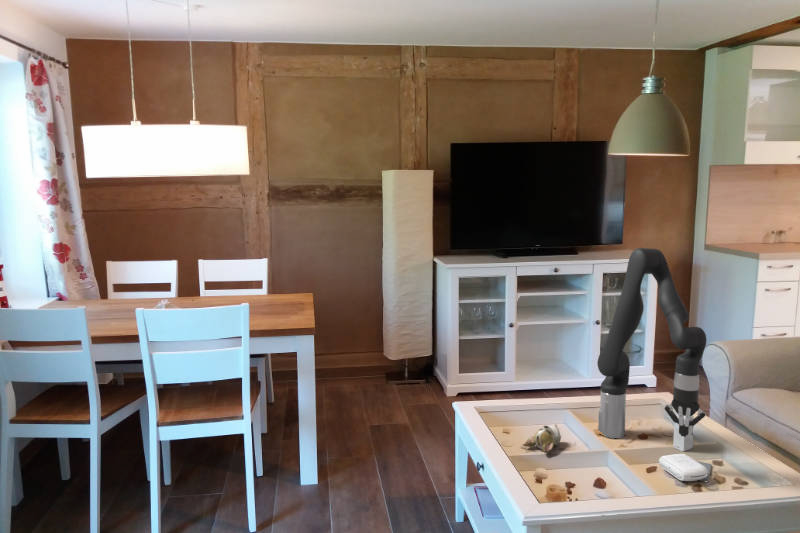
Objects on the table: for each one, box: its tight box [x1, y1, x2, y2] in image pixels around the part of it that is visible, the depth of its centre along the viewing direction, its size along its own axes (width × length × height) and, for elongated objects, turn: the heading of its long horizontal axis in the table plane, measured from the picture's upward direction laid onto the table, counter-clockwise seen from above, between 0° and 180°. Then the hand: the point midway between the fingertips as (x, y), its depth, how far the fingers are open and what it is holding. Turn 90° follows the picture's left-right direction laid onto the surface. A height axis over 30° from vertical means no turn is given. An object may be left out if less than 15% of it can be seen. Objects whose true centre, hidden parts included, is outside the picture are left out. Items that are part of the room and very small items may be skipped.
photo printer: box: [658, 453, 708, 482], centre depth 191 cm, size 10×4×12 cm
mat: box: [696, 460, 712, 482], centre depth 196 cm, size 10×14×1 cm
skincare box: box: [672, 414, 695, 452], centre depth 213 cm, size 6×4×12 cm
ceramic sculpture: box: [522, 423, 562, 454], centre depth 215 cm, size 11×9×15 cm
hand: (683, 435), depth 196 cm, fingers closed
